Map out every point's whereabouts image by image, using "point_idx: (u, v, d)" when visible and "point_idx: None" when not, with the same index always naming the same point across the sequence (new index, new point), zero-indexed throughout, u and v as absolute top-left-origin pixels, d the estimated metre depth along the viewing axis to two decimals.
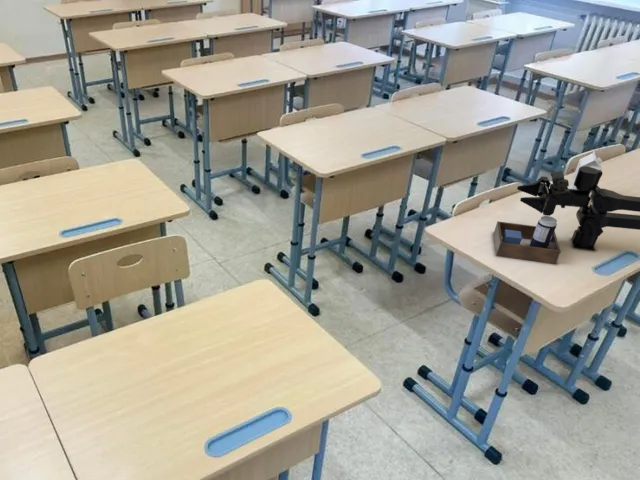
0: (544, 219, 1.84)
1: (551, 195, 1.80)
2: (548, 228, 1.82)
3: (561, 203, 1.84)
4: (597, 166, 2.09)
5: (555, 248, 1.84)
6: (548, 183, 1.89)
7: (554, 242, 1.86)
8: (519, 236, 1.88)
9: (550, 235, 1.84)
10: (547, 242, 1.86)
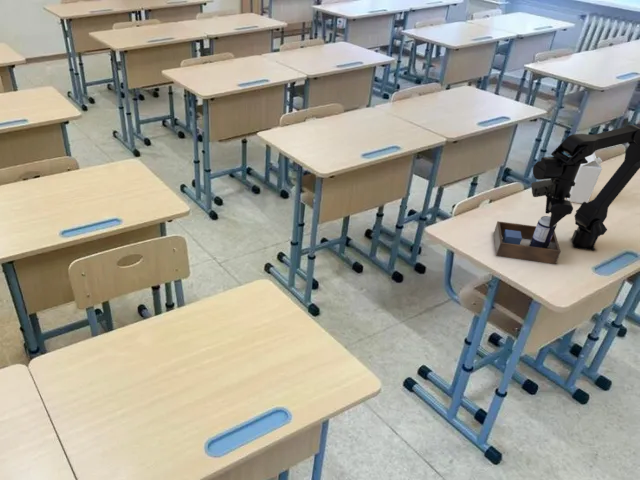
0: (544, 219, 1.84)
1: (549, 204, 1.74)
2: (548, 228, 1.82)
3: (568, 187, 1.73)
4: (597, 166, 2.09)
5: (555, 248, 1.84)
6: None
7: (554, 242, 1.86)
8: (519, 236, 1.88)
9: (550, 235, 1.84)
10: (547, 242, 1.86)
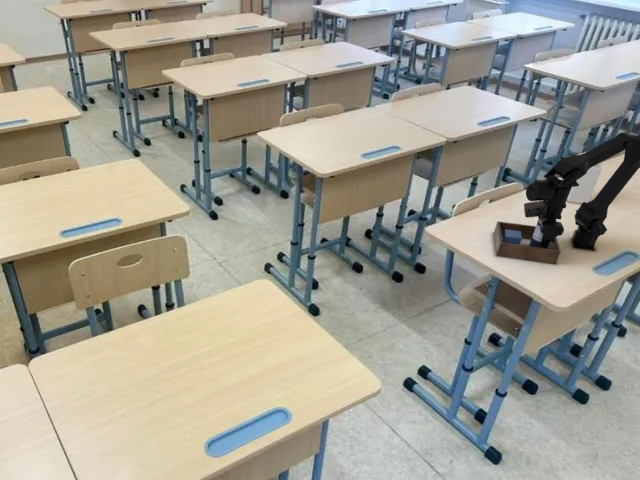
0: (543, 219, 1.84)
1: (541, 225, 1.79)
2: None
3: (559, 208, 1.78)
4: (597, 166, 2.09)
5: (555, 248, 1.84)
6: None
7: (554, 242, 1.86)
8: (519, 236, 1.88)
9: None
10: None
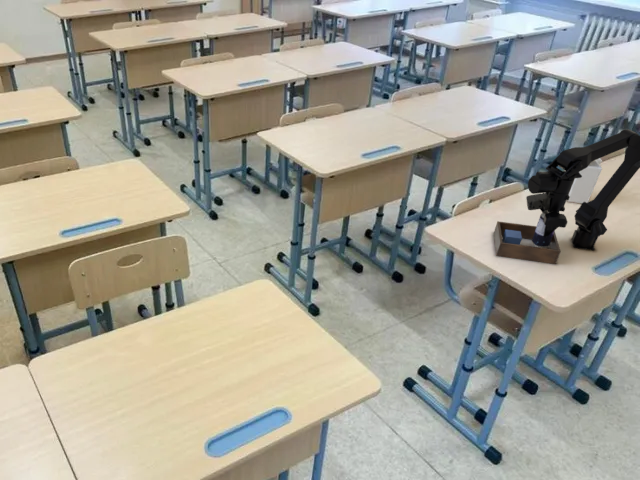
0: (546, 213, 1.82)
1: (544, 218, 1.77)
2: None
3: (562, 200, 1.76)
4: (597, 166, 2.09)
5: (555, 248, 1.84)
6: None
7: (554, 242, 1.86)
8: (519, 236, 1.88)
9: None
10: (550, 236, 1.84)
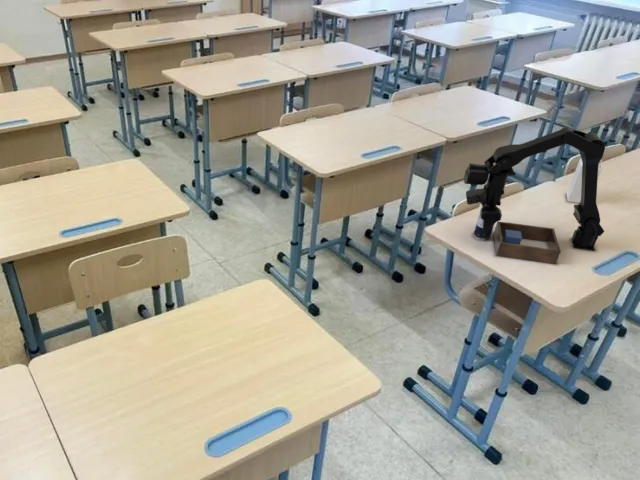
0: (486, 206, 1.91)
1: (481, 211, 1.86)
2: None
3: (498, 195, 1.85)
4: None
5: (555, 248, 1.84)
6: None
7: (554, 242, 1.86)
8: (519, 236, 1.88)
9: None
10: (489, 229, 1.93)
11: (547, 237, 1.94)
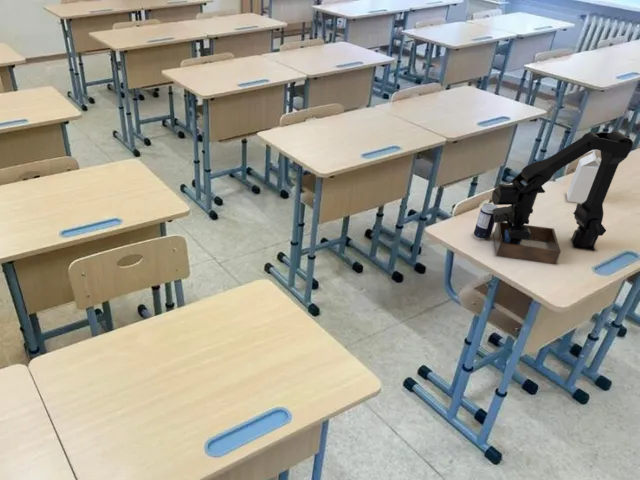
0: (486, 206, 1.91)
1: (509, 230, 1.83)
2: (489, 215, 1.90)
3: (526, 214, 1.82)
4: (597, 166, 2.09)
5: (555, 248, 1.84)
6: None
7: (554, 242, 1.86)
8: None
9: (492, 222, 1.91)
10: (489, 229, 1.93)
11: (547, 237, 1.94)
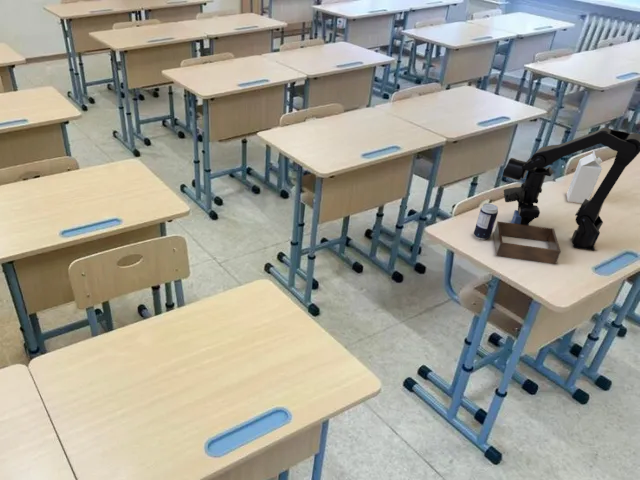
0: (486, 206, 1.91)
1: (519, 209, 1.94)
2: (489, 215, 1.90)
3: (535, 193, 1.93)
4: (597, 166, 2.09)
5: (555, 248, 1.84)
6: None
7: (554, 242, 1.86)
8: None
9: (492, 222, 1.91)
10: (489, 229, 1.93)
11: (547, 237, 1.94)
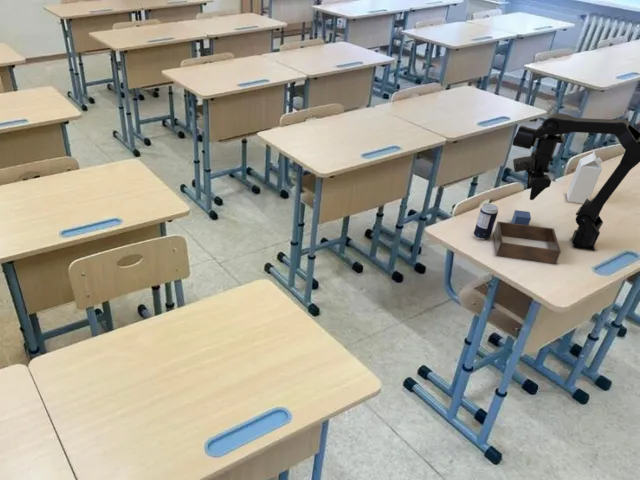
0: (486, 206, 1.91)
1: (529, 178, 1.87)
2: (489, 215, 1.90)
3: (546, 162, 1.86)
4: (597, 166, 2.09)
5: (555, 248, 1.84)
6: None
7: (554, 242, 1.86)
8: (528, 216, 1.99)
9: (492, 222, 1.91)
10: (489, 229, 1.93)
11: (547, 237, 1.94)
